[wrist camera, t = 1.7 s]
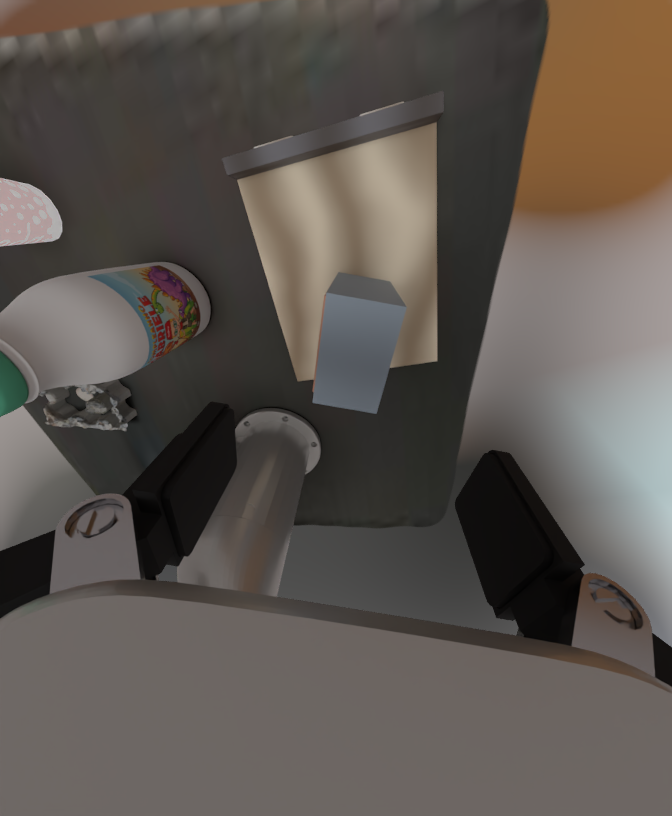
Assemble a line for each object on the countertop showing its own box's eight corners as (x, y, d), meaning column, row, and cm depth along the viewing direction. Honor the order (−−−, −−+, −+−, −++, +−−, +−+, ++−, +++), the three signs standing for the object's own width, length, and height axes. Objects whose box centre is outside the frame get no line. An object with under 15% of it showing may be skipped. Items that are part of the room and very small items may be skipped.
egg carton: (68, 408, 40) (40, 424, 36) (50, 361, 36) (17, 375, 32) (141, 424, 40) (121, 442, 37) (132, 380, 36) (107, 395, 33)
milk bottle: (159, 336, 32) (-61, 445, 15) (130, 262, 28) (-212, 303, 11) (221, 334, 32) (63, 448, 15) (201, 259, 28) (-51, 297, 11)
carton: (371, 359, 30) (376, 413, 21) (325, 350, 30) (309, 402, 21) (390, 281, 26) (406, 307, 17) (336, 271, 26) (323, 292, 17)
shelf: (300, 376, 34) (294, 389, 31) (238, 165, 23) (220, 154, 20) (434, 355, 31) (441, 368, 28) (431, 107, 21) (443, 86, 18)
